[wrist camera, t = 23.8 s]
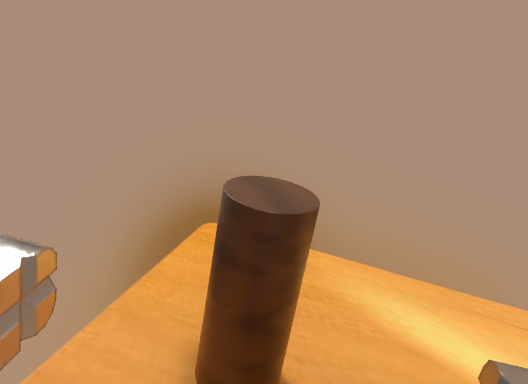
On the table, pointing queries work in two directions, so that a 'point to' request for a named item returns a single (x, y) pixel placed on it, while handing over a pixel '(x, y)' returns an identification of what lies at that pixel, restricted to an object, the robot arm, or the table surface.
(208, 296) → the stand
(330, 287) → the table surface
